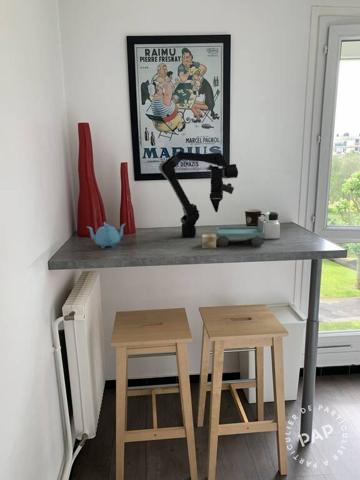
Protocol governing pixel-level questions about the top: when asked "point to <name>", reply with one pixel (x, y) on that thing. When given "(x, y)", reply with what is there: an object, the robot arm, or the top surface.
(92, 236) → the teapot
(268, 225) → the medicine bottle
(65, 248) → the top surface
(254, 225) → the coffee mug
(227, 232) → the teal toy wagon
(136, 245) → the top surface
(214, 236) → the block
